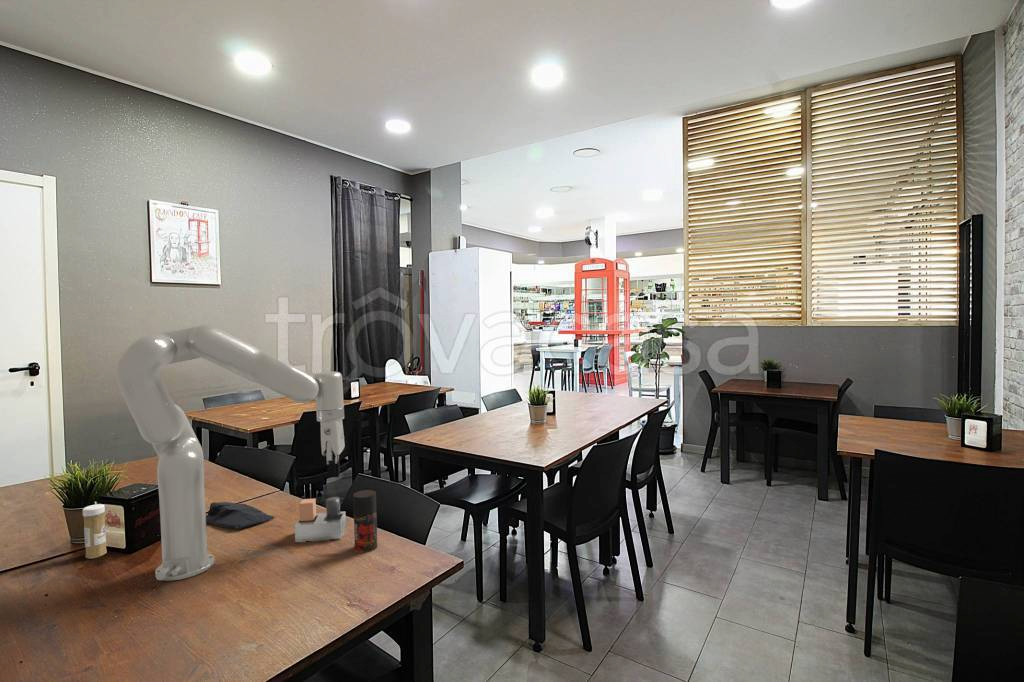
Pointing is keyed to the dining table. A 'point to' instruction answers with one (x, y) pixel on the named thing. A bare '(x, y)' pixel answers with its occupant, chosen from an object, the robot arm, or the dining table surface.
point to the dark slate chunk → (235, 515)
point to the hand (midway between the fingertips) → (333, 476)
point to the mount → (320, 528)
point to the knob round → (332, 507)
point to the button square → (307, 509)
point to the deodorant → (365, 521)
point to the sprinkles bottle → (94, 531)
